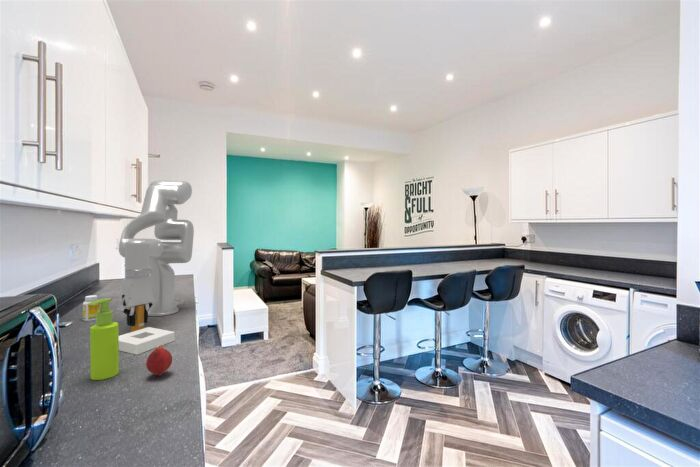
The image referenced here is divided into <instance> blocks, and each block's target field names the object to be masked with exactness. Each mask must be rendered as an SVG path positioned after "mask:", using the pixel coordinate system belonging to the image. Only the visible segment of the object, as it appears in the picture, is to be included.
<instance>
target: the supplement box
mask: <svg viewBox="0 0 700 467" xmlns="http://www.w3.org/2000/svg"><path fill="white" fill-rule="evenodd" d="M133 315H135V326H130V332H133V331H137V330H140V329H144V328H145V323H144V305H139V306H135V308H134V313H133Z"/></svg>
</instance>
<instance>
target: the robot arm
mask: <svg viewBox="0 0 700 467" xmlns="http://www.w3.org/2000/svg"><path fill="white" fill-rule="evenodd" d="M192 194H193V188H192V185H191V184H190V182H188V181H187V180H186V181H185V180H167V179H166V180H164V179H161V180H153V181H151V182H150V184H149V186H148V187H147V188H146V191H145V196H144V199H143V204H142V207H141V211H140V214H139V215H138V216H136V217H134V218H133V219H132V220H131V221H130V222H129V223H127V224H126V226H125V227H124V228H123V230H122V231H121V232H122V233H121V235H120V240H119V242H118V252H119V255H120V256H121V257H122V258H124V278H122V280H121V283H120V287H119V299H118V302H119V303H118V305H117V307H116V310H117V311H120V312H122V313H124V315H126V324H127V326H129V327H131V326H135V315H133V313H134V308H135V306H139V305H144V324H146V323H148V320H149V317H163V316H169V315H173V314H176V313H178V312H179V308H178V306H181V305H184V303H185V302H184V299H181V300H178V301H177V300H175V293H176V292H175V291H176V290H175V289H176V288H175V280H176V279H175V276H176V275H175V270H174V269H173V267H172V266H171V264H186V263H189V262H190V261H191V259H192V255H193V245H194V234H195V233H194V232H195V229H194V224H193V222H191V220H188V219H178V213H179V212H178V209H177V207H176V206H177V205H179V206H181V205H184V204H185V203H186V202H187V201H188V200H190V198H192ZM175 205H176V206H175ZM150 227H154V230H153V232H154V237H155V238H135V236H136V235H137V234H138V233H140V232H141V231H144V230H146V229H149V228H150ZM161 240H162V241H161Z"/></svg>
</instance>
